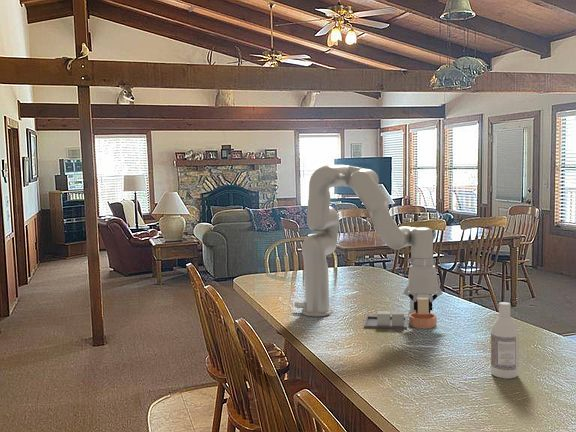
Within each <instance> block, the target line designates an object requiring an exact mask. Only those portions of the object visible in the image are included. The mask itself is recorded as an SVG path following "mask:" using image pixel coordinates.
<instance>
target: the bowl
mask: <svg viewBox="0 0 576 432" xmlns="http://www.w3.org/2000/svg"><path fill="white" fill-rule="evenodd" d="M437 321H438V320H437V314H436V313H429V314H418V313H416V312H415V313H409V314H408V322H409V323H408V325H409V326H411V327H412V328H413V327H414V328H417V329H418V328H419V329H430V328H435V327H437V324H438V323H437Z"/></svg>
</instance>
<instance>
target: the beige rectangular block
mask: <svg viewBox="0 0 576 432" xmlns="http://www.w3.org/2000/svg"><path fill="white" fill-rule="evenodd" d="M417 301H418V314H429V300H428V298H417Z"/></svg>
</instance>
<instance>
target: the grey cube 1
mask: <svg viewBox="0 0 576 432" xmlns="http://www.w3.org/2000/svg"><path fill="white" fill-rule="evenodd" d="M376 314H377V315H376V316H377V326H390V317H391V311H387V310H385V311H384V310H377V313H376Z"/></svg>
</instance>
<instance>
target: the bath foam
mask: <svg viewBox="0 0 576 432" xmlns="http://www.w3.org/2000/svg"><path fill="white" fill-rule="evenodd" d="M490 373H491V375H492V376H494V377H497V378H499V379H506V380H510V379H514V378H517V377H518V375H519V331H518V327H517V324H516V323H515V321H514V319H513V318H512V316H511V303H510V302H506V301H501V302H498V316H497V318H496V319H495V320H494V322H493V323H492V326H491V330H490Z"/></svg>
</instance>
